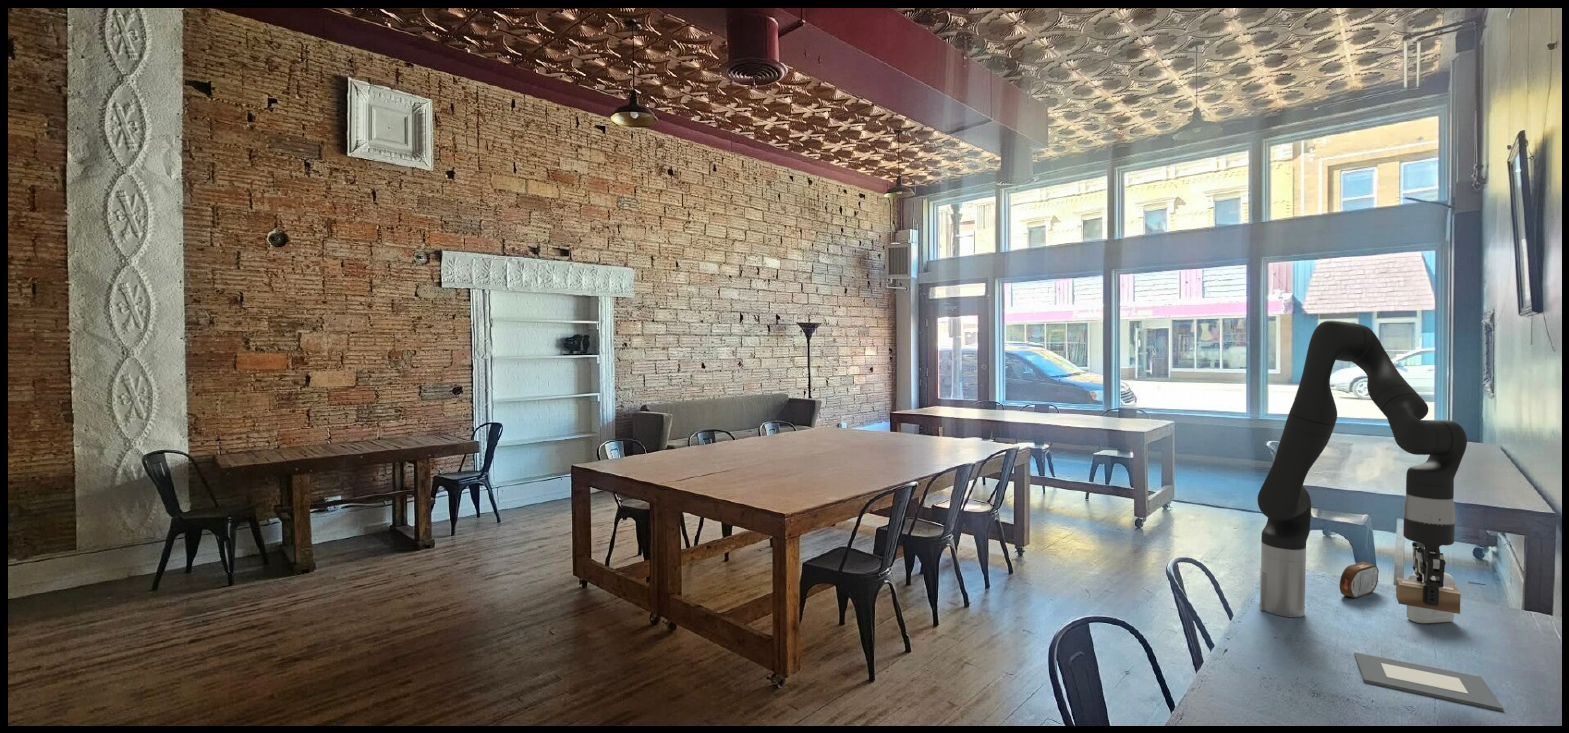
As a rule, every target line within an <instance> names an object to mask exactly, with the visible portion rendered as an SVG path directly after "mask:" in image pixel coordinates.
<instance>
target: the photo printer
mask: <svg viewBox="0 0 1569 733" xmlns="http://www.w3.org/2000/svg"><path fill="white" fill-rule="evenodd" d="M1416 577H1418V576H1416V575H1415V573H1413V574H1411V575H1410V576H1409V577H1408V578H1407V579H1409V580H1416ZM1430 579H1432V580H1435V581H1436V578H1435V576H1432V578H1430ZM1443 584H1444V585H1449V586H1456V582H1455V579H1454V577H1453V576H1452V575H1451V574H1449V573H1447V572H1444V581H1443ZM1406 618H1407V619H1408V620H1409V621H1411V622H1414V623H1418V624H1435V623H1450V622H1453V621H1454V620H1455V613H1451V612H1445V611H1439V610H1433V609H1427V608H1421V607H1415V606H1409V605H1406Z"/></svg>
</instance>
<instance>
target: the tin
mask: <svg viewBox="0 0 1569 733" xmlns="http://www.w3.org/2000/svg"><path fill="white" fill-rule="evenodd" d="M1378 578H1379V568H1378V566H1377V565H1375V564H1372V563H1370V562H1369V563H1368V562H1367V561H1361V562H1358V563H1354V564H1350V565H1348V566H1345V569H1344V570H1343V572H1342V573H1341V576H1340V580H1339V591H1340V593H1341V594H1342V595H1343V596H1346V597H1349V598H1352V599H1358V598H1361V597H1364V596H1366V595H1370V594H1372V593H1373V592H1374V591H1375V590H1376V588H1377V585H1378Z"/></svg>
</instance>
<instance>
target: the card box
mask: <svg viewBox="0 0 1569 733" xmlns="http://www.w3.org/2000/svg"><path fill="white" fill-rule="evenodd" d="M1395 578H1396V580H1395V582H1396V584H1395V587H1396V588H1395V598H1396V599H1397V603H1398V605H1405V606H1407V605H1409V606H1415V607H1421V608H1427V609H1433V610H1439V611H1445V612H1451V613H1454V614H1458V615H1460V614H1461V592H1460V591H1459V589H1458V586H1456V585H1455V586H1449V585H1444V586H1443V588H1441V587H1440V588H1439V604H1438V606H1432V605H1426V604H1424V602H1423V584H1422V581H1416V580H1409V579H1408V578H1403V577H1402V578H1401V577H1395Z"/></svg>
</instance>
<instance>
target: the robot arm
mask: <svg viewBox="0 0 1569 733" xmlns="http://www.w3.org/2000/svg"><path fill="white" fill-rule="evenodd" d="M1310 337H1311V338H1310V340H1309V344H1308V348H1307V351H1306V356H1305V362H1304V366H1303V370H1302V374H1301V378H1300V380H1299V385H1298V386H1297V389H1296V390H1297V391H1296V393H1295V396H1294V401H1293V403H1292V405H1291V408H1290V409H1289V413H1288V414H1287V419H1286V420H1285V421H1286V422H1285V424H1284V426H1283V427H1284V428H1283V432H1282V434H1281V437H1280V440H1279V443H1278V446H1277V449H1276V454H1275V457H1274V460H1273V462H1272V464H1271V467H1270V470H1269V472H1268V474H1267V476H1266V477H1265V479H1264V482H1263V484H1262V485H1261V487H1260V489H1259V492H1258V493H1257V506H1258V508H1259V510H1260V512H1261V513H1262V514H1263V515H1264V516H1265V517H1266V518H1267V521H1266V523H1265V526H1264V527H1263V529H1262V530H1261V541H1260V543H1261V546H1260V547H1261V548H1260V550H1261V551H1260V552H1261V553H1260V554H1261V555H1260V568H1259V569H1260V576H1259V578H1260V579H1259V610H1260V611H1263V612H1267V613H1269V614H1273V615H1276V616H1280V617H1281V616H1282V617H1286V618H1301V617H1304V616H1305V611H1306V574H1307V573H1306V571H1307V570H1306V568H1307V567H1306V564H1307V557H1306V556H1307V541H1308V538H1309V536H1310V532H1311V530H1310V529H1311V520H1312V519H1311V515H1312V500H1311V496H1310V494H1309V491H1308V490H1307V489H1306V488H1305V487H1304V483H1305V480H1306V478H1307V475H1308V473H1309V471H1310V470H1311V468H1312V466H1313V465H1314V464H1315V462H1317V460H1318V458H1319V457H1320V456H1321V454H1322V453H1323V451H1324V450H1325V448H1326V446H1327V445H1328V443H1329V441H1330V439H1331V436H1332V433H1333V431H1334V428H1335V426H1336V422H1337V420H1338V410H1337V405H1336V402H1335V398H1334V396H1333V392H1332V388H1331V375H1332V371H1333V368H1334V365H1335V362H1336V361H1339V362H1341V361H1342V362H1349V363H1350V362H1351V363H1353V364H1355V365H1356V366H1357V367H1359V368H1360V369H1361V370H1362V371H1363V372H1364V373H1365V374H1366V376H1367V382H1366V386H1367V387H1366V388H1367V393H1368V395H1369V397H1370V398H1371V401H1372V402H1373V403H1374V405H1375V406H1376V407H1377V408H1378V410H1380V411H1381V413H1382V414H1383V416H1384V417H1386V419H1387V422H1388V424H1389V427H1390V429H1391V433H1392V435H1393V438H1394V441H1395V443H1396V445H1397V446H1398V447H1399V448H1400V449H1401V450H1402V451H1405V452H1406V453H1408V454H1411V455H1416V456H1428V455H1429V456H1428V459H1427V460H1426V461H1425V462H1423V463H1421V464H1417V465H1413V466H1410V467H1409V468H1408V469H1406V478H1405V480H1406V481H1405V499H1404V501H1403V502H1404V503H1403V533H1402V534H1403V538H1405V539H1407V540H1409V541H1411V542H1412V543H1411V546H1412V569H1413V571H1414V573H1413V574H1415V575H1416V576H1418V577H1416V581H1422V584H1423V602H1424V604H1426V605H1432V606H1438V604H1439V588H1440V587H1441V588H1443V586H1444V584H1443V581H1444V573H1445V568H1446V561H1445V558H1444V557H1445V556H1444V553H1443V552H1441V549H1440V547H1441V546H1451V545H1453V544H1454V543H1455V524H1456V508H1455V502H1454V500H1455V499H1454V496H1455V495H1454V494H1455V492H1454V491H1455V490H1454V488H1455V481H1454V480H1455V477H1456V474H1457V472H1458V470H1459V469H1460V465H1461V462H1462V460H1463V457H1464V454H1465V452H1466V451H1467V450H1466V449H1467V445H1468V437H1467V434H1466V431H1465V430H1464V428H1463V427H1462V425H1460V424H1459V423H1457V422H1455V421H1453V420H1450V419H1449V420H1448V419H1424V418H1425V417H1426V416H1427V415H1428V413H1429V406H1428V404H1427V402H1426V401H1425V400H1424V399H1423V397H1422V396H1420V395H1419V394H1418V392H1417V391H1416V390H1415V388H1413V387H1412V386H1411V385H1410V384H1409V382H1407V381H1406V380H1405V378H1404V377H1403V376H1402V375H1401V373H1400V372H1399V371H1398V369H1397V368H1396V365H1395V364H1394V363H1393V361H1392V360H1391V358H1390V356H1389V355H1388V353H1387V351H1386V349H1385V347H1384V346H1383V344H1382V342H1381V341H1380V340H1379V338H1378V336H1377V335H1376V333H1375V332H1374V331H1373V330H1372V328H1371V327H1369V326H1367V325H1364V324H1361V323H1355V322H1347V321H1341V320H1334V319H1333V320H1329V319H1328V320H1324V321H1322V322H1320V323H1319V324H1318V325H1317V326H1316V327H1315V329H1314V330H1313V332H1312V334H1311V336H1310ZM1432 576H1435V578H1436V581H1435V580H1432V579H1430V578H1432Z"/></svg>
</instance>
